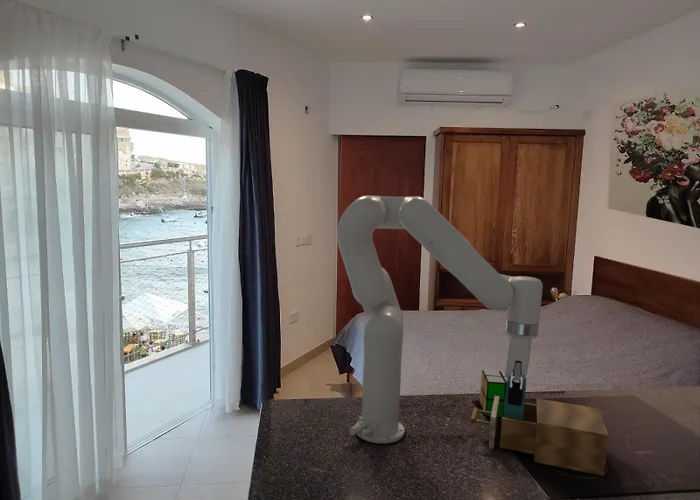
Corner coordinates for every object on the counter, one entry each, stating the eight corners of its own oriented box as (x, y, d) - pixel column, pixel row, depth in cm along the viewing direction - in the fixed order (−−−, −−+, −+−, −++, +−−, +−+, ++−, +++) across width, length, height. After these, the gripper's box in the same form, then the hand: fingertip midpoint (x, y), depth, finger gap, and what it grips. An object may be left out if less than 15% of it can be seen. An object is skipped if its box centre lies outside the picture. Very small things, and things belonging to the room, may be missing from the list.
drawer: (467, 443, 120) (469, 412, 119) (473, 420, 132) (475, 392, 131) (549, 460, 113) (552, 427, 112) (547, 434, 126) (550, 404, 125)
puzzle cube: (514, 404, 146) (516, 371, 144) (522, 419, 136) (525, 384, 134) (479, 401, 146) (481, 369, 145) (485, 416, 137) (487, 381, 135)
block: (502, 431, 121) (506, 380, 119) (503, 424, 125) (507, 374, 123) (521, 435, 119) (526, 384, 118) (521, 427, 123) (526, 377, 122)
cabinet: (533, 461, 114) (536, 422, 113) (533, 433, 128) (536, 398, 127) (604, 476, 109) (608, 434, 108) (596, 445, 123) (599, 408, 122)
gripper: (507, 318, 128) (500, 385, 130) (503, 334, 112) (496, 411, 115) (537, 322, 126) (531, 391, 128) (538, 339, 110) (530, 417, 112)
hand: (514, 399), depth 121 cm, fingers closed on block, 4 cm apart
